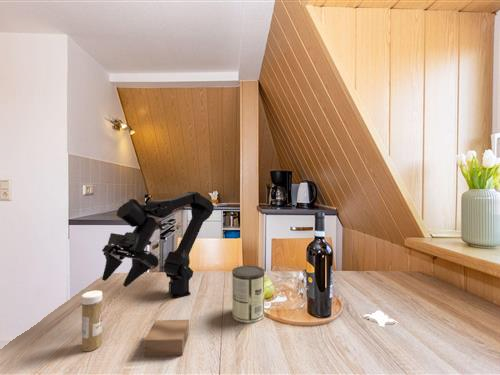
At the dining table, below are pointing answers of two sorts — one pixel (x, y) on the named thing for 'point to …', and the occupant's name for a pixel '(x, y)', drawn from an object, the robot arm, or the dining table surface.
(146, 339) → the walnut box
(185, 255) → the robot arm
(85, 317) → the sprinkles bottle
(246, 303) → the coffee can
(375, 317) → the acanthus leaf ornament
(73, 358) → the dining table surface
